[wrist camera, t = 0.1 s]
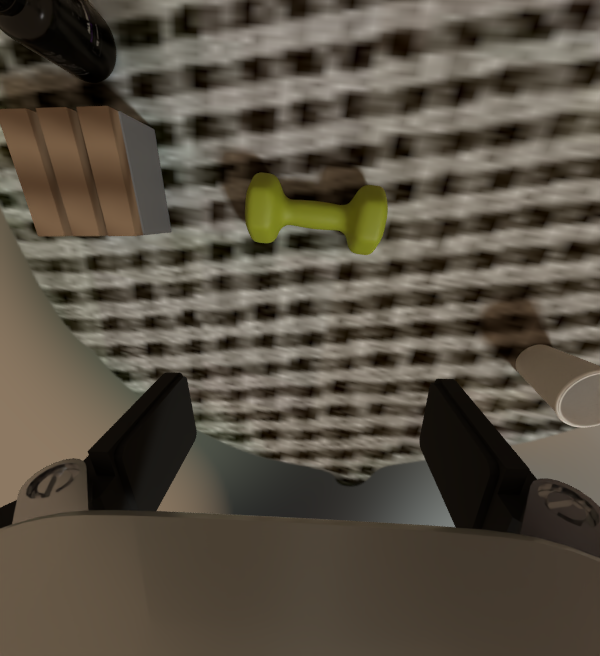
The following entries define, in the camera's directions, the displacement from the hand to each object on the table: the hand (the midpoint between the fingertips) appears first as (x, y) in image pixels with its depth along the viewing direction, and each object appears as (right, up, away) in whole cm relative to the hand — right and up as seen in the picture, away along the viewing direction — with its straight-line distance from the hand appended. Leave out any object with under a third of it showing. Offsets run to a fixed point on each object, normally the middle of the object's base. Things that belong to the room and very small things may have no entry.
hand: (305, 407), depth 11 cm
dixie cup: (+36, -2, +32) cm, 48 cm away
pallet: (-24, +20, +20) cm, 37 cm away
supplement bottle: (-24, +35, +21) cm, 48 cm away
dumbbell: (+2, +18, +27) cm, 32 cm away
